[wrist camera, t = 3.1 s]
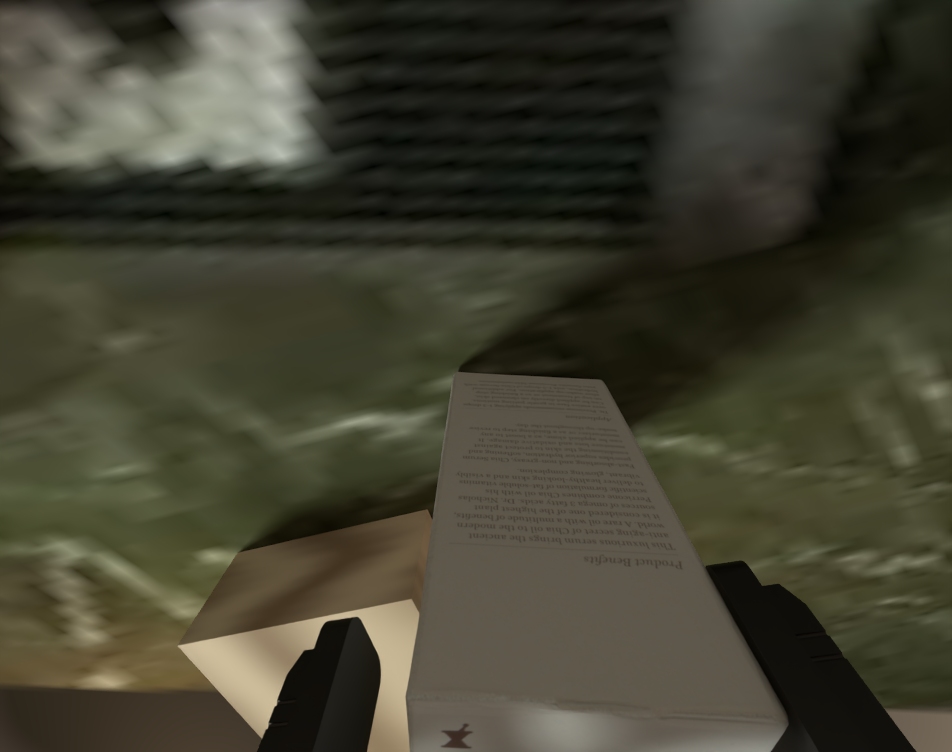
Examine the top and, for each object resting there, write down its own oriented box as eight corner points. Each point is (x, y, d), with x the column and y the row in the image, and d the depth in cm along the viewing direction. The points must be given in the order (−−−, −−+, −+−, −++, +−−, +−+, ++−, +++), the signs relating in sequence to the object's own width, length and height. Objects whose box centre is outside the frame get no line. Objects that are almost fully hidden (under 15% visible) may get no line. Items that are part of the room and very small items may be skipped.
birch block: (428, 504, 21) (411, 598, 16) (489, 639, 25) (489, 745, 20) (240, 548, 22) (177, 645, 18) (326, 668, 26) (293, 773, 22)
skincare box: (450, 458, 19) (401, 832, 8) (453, 368, 17) (395, 698, 7) (590, 465, 19) (722, 850, 8) (608, 376, 17) (804, 722, 7)
